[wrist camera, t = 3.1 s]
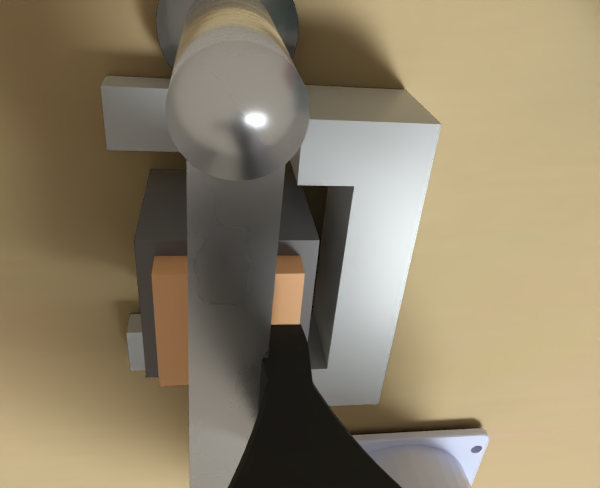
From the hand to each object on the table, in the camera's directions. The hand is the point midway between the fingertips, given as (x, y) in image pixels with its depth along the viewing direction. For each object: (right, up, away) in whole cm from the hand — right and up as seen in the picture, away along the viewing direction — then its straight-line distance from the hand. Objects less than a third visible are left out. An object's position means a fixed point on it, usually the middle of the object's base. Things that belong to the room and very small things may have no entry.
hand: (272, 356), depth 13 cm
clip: (-2, +4, +3) cm, 5 cm away
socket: (-2, +3, +5) cm, 6 cm away
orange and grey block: (-2, +3, +5) cm, 6 cm away
